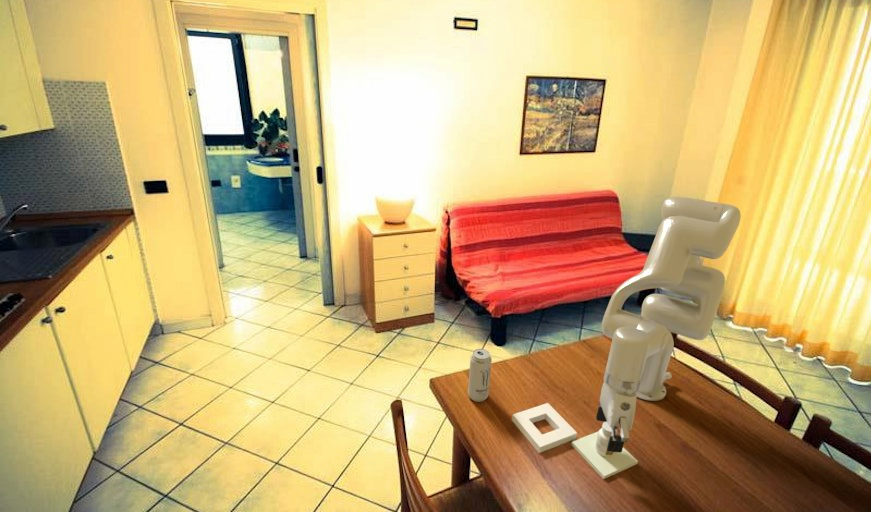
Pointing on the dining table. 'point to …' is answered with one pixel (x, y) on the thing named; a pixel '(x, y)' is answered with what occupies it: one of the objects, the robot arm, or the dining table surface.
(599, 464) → the pad
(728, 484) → the dining table surface
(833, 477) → the dining table surface
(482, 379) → the energy drink can
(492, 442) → the dining table surface
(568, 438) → the collar
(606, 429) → the pill bottle
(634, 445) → the dining table surface
